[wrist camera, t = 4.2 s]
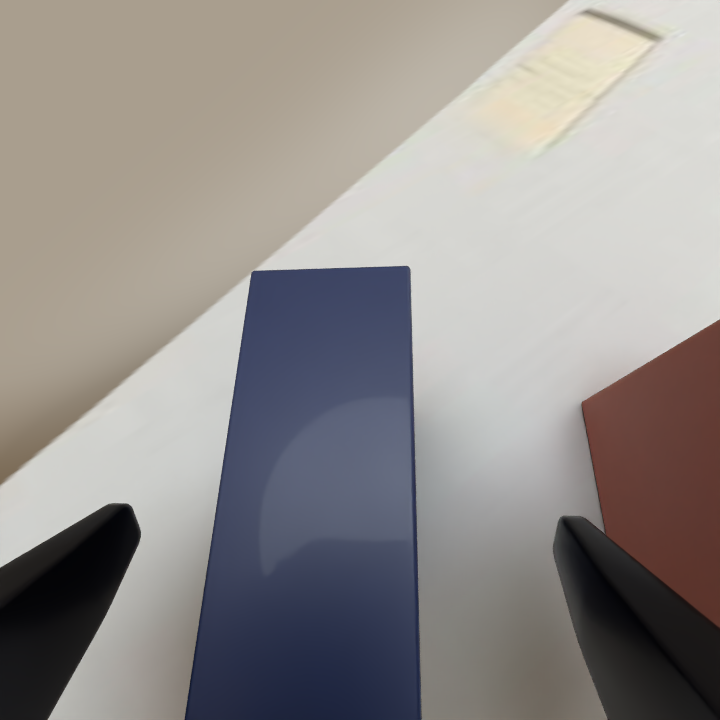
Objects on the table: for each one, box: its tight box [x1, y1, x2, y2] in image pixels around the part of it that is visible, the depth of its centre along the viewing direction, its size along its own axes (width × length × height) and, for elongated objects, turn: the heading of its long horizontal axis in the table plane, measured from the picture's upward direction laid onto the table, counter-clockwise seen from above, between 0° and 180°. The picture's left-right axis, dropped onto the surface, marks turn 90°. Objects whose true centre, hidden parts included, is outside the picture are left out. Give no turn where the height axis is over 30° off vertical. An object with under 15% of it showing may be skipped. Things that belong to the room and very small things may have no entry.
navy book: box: [185, 266, 422, 720], centre depth 11 cm, size 8×3×11 cm, turn 179°
